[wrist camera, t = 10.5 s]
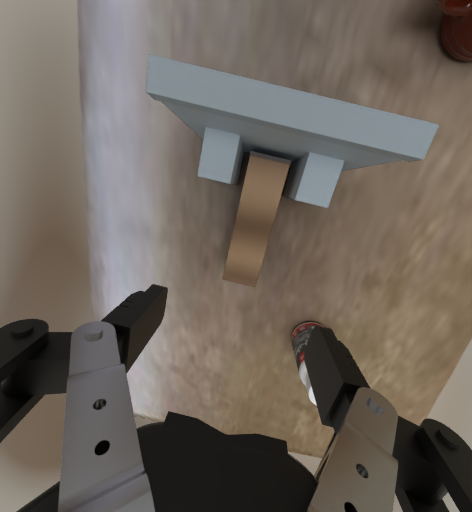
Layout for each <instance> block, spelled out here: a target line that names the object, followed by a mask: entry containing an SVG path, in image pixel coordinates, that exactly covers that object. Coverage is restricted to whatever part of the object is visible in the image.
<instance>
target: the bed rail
mask: <svg viewBox="0 0 472 512" xmlns="http://www.w3.org/2000/svg"><path fill="white" fill-rule="evenodd" d="M290 164H291V160H287V159H283V158H279V157H275V156H270V155H266V154H262V153H258V152H253V151H250V158H249V163H248V167H247V172H246V176H245V180H244V185H243V189H242V194H241V198H240V203H239V207H238V212H237V216H236V220H235V225H234V229H233V234H232V238H231V243H230V247H229V252H228V256H227V260H226V265H225V269H224V274H223V278H222V279H223V280H227V281H231V282H235V283H239V284H243V285H248V286H252V287H256V283H257V280H258V276H259V273H260V269H261V266H262V262H263V258H264V255H265V251H266V248H267V244H268V241H269V237H270V233H271V230H272V226H273V223H274V219H275V216H276V212H277V209H278V205H279V201H280V198H281V194H282V191H283V187H284V184H285V180H286V176H287V173H288V169H289V166H290Z"/></svg>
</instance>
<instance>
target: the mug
mask: <svg viewBox="0 0 472 512" xmlns="http://www.w3.org/2000/svg"><path fill="white" fill-rule="evenodd" d="M436 5H437V8H438V10H439V11H441V12H443V13H444V16H443V19H442V25H441V40H442V43H443V46H444V47H445V49H446V51H447V52H448V53H449V54H450V55H451V56H452V57H454V58H455V59H458V60H461V61H472V0H437V2H436Z"/></svg>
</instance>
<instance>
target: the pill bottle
mask: <svg viewBox="0 0 472 512" xmlns="http://www.w3.org/2000/svg"><path fill="white" fill-rule="evenodd" d="M316 325H318V326H322V325H321V324H319V323H315V322H306V323H303V324H301V325H299V326H298V327H296V328H295V330H294V331H293V333H292V337H291V340H292V346H293V350H294V354H295V358H296V363H297V367H298V371H299V375H300V378H301V380H302V382H303V383H304V384H305V386H306V389H307V392H308V395H309V398H310V400H311V401H312V403H313V404H315V405H316V406H317V404H316V401H315V397H314V394H313V390H312V386H311V383H310V379H309V376H308V372H307V369H306V365H305V362H304V351H305V348H306V345H307V343H308V341H309V338H310V336H311V333H312V331H313V328H314V327H315V326H316ZM322 327H324V326H322Z"/></svg>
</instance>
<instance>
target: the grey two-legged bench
mask: <svg viewBox="0 0 472 512" xmlns="http://www.w3.org/2000/svg"><path fill="white" fill-rule="evenodd" d="M146 93H148V94H149V95H150V96H151V97H152V98H153V99H154V100H158V101H161V102H162V103H163V104H164V105H165V106H167V107H168V108H169V109H170V110H171V111H172V112H173V113H174V114H175V115H176V116H178V117H179V118H180V119H181V120H182V121H183V122H184V123H185V124H186V125H187V126H188V127H190V128H191V129H192V130H193V131H194V132H195V133H196V134H197V135H198V136H199V137H201V138H202V139H203V146H202V152H201V158H200V164H199V170H198V176H199V177H204V178H208V179H212V180H216V181H220V182H224V183H228V184H235V185H237V184H238V180H239V175H240V171H241V166H242V162H243V157H244V153H245V152H249V153H250V151H253V152H258V153H262V154H266V155H270V156H275V157H279V158H283V159H287V160H291V163H292V166H291V169H290V173H289V176H288V180H287V183H286V187H285V190H284V194H283V196H284V197H287V198H291V199H294V200H297V201H301V202H305V203H309V204H313V205H318V206H322V207H326V208H328V206H329V203H330V200H331V197H332V195H333V192H334V189H335V186H336V183H337V181H338V178H339V175H340V172H341V171H345V170H350V169H356V168H361V167H367V166H373V165H378V164H384V163H389V162H395V161H400V160H404V161H408V162H411V161H417V160H423V159H424V157H425V155H426V153H427V151H428V149H429V146H430V144H431V142H432V140H433V138H434V136H435V133H436V131H437V129H438V127H439V124H435V123H431V122H426V121H422V120H418V119H414V118H410V117H406V116H402V115H398V114H393V113H389V112H385V111H381V110H377V109H373V108H369V107H365V106H360V105H356V104H352V103H348V102H344V101H340V100H336V99H332V98H327V97H323V96H319V95H315V94H311V93H307V92H303V91H299V90H295V89H290V88H286V87H282V86H278V85H274V84H270V83H266V82H262V81H257V80H253V79H249V78H245V77H241V76H237V75H233V74H229V73H224V72H220V71H216V70H212V69H208V68H204V67H200V66H196V65H191V64H187V63H183V62H179V61H175V60H171V59H167V58H163V57H158V56H154V55H150V54H149V60H148V71H147V83H146Z"/></svg>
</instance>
